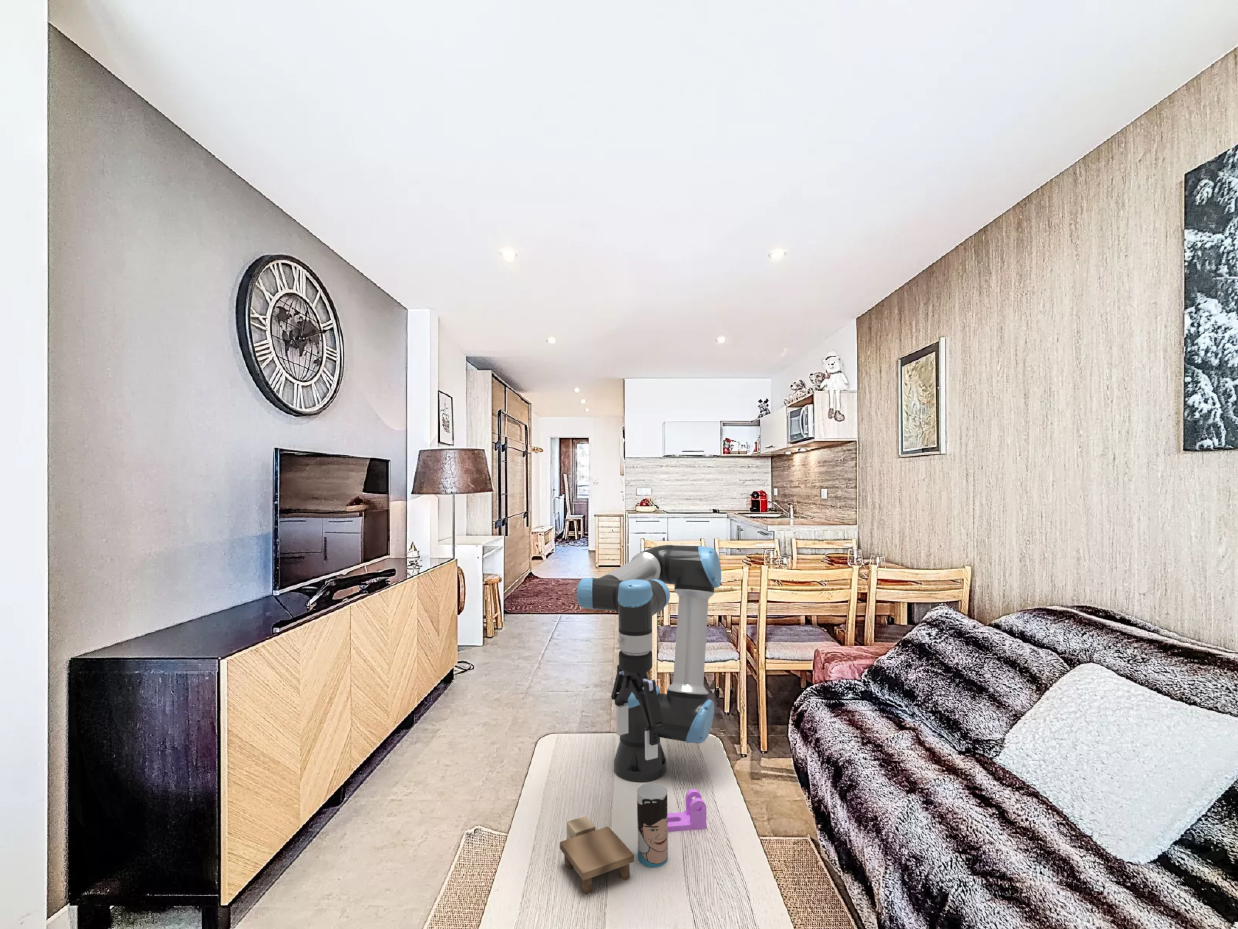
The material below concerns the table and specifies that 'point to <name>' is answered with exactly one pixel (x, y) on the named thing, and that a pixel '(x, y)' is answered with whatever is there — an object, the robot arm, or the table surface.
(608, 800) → the table surface
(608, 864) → the stand
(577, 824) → the oak block
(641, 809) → the printed can
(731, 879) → the table surface
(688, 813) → the bracket
